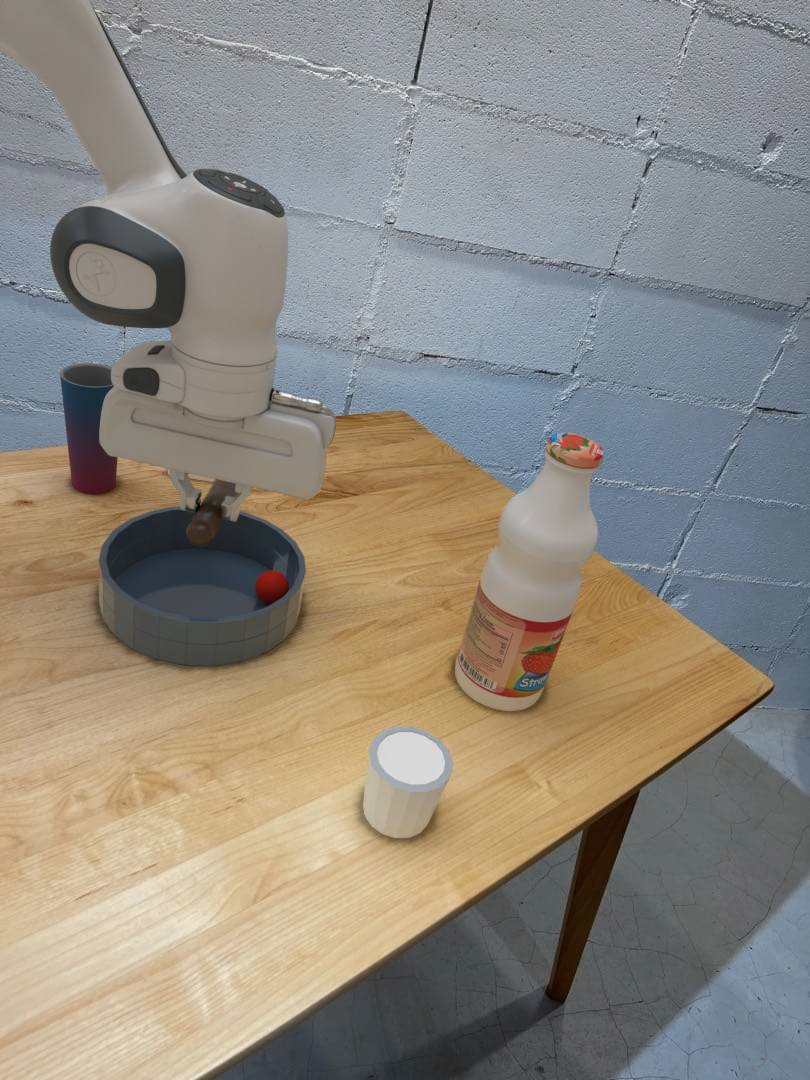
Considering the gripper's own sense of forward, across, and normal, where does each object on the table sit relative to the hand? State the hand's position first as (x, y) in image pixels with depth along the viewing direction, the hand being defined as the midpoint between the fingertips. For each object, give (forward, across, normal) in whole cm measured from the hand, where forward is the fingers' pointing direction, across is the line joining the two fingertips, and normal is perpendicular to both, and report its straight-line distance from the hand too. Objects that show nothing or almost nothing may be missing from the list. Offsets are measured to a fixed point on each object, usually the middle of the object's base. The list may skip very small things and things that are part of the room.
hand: (209, 513), depth 78 cm
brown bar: (+2, 0, -2) cm, 3 cm away
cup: (+13, +20, -20) cm, 31 cm away
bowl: (+13, 0, -2) cm, 13 cm away
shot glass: (+13, -23, +20) cm, 33 cm away
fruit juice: (+13, -32, 0) cm, 34 cm away
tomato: (+10, -6, -5) cm, 13 cm away
